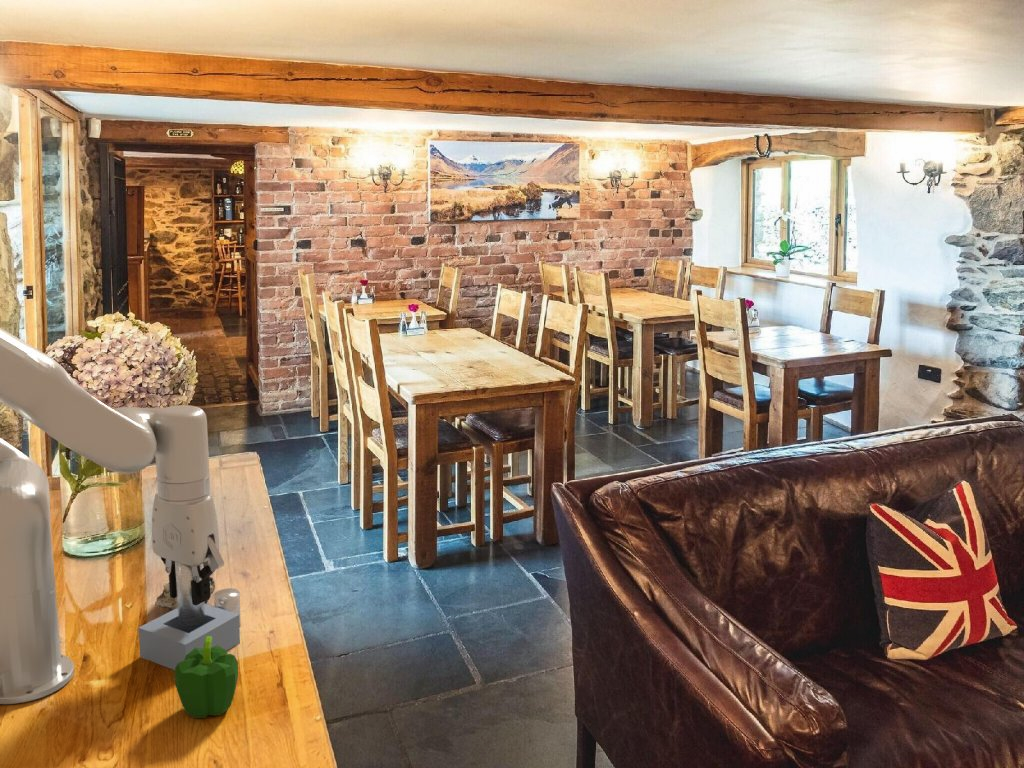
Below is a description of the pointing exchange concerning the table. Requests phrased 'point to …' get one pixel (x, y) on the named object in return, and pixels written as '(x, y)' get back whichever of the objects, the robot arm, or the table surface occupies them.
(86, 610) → the table surface
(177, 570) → the long pin
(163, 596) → the mineral specimen
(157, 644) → the hole block
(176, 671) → the bell pepper
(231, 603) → the short pin
